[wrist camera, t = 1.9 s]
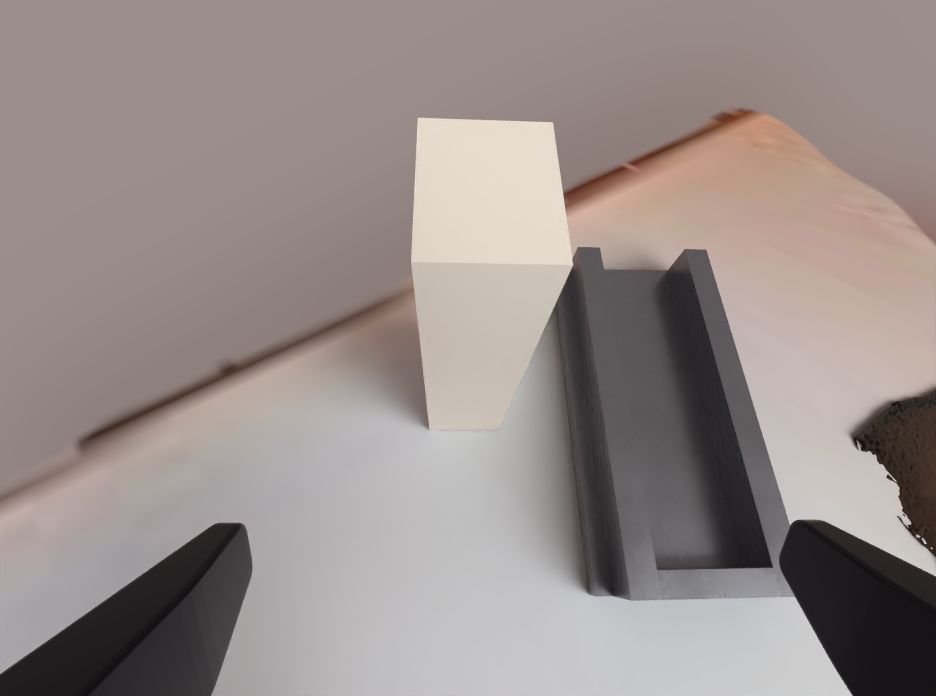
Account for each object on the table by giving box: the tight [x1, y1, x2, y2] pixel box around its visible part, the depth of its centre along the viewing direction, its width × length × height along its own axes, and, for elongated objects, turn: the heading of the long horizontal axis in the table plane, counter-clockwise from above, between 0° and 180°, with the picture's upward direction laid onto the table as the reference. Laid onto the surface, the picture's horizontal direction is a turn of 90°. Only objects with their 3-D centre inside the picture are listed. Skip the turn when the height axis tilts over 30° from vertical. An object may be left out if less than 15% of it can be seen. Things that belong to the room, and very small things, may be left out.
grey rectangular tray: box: [555, 247, 795, 600], centre depth 22 cm, size 16×8×3 cm, turn 1°
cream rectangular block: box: [411, 118, 573, 430], centre depth 17 cm, size 4×4×14 cm
